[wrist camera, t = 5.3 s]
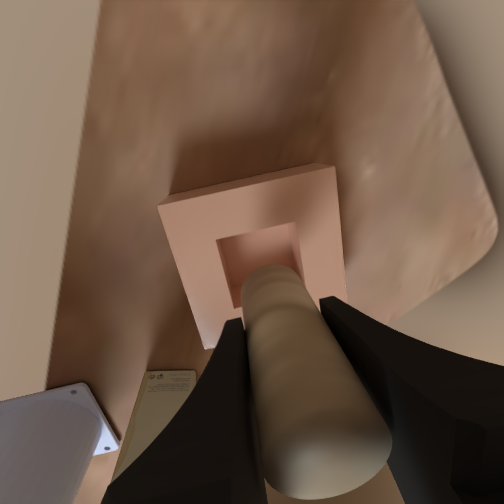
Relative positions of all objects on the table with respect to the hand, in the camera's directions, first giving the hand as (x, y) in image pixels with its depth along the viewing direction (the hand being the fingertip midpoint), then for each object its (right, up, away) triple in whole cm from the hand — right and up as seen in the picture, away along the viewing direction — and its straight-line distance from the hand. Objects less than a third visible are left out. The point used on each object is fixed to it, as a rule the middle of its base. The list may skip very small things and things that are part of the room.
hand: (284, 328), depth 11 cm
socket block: (-1, +3, +9) cm, 10 cm away
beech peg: (0, +1, +3) cm, 3 cm away
